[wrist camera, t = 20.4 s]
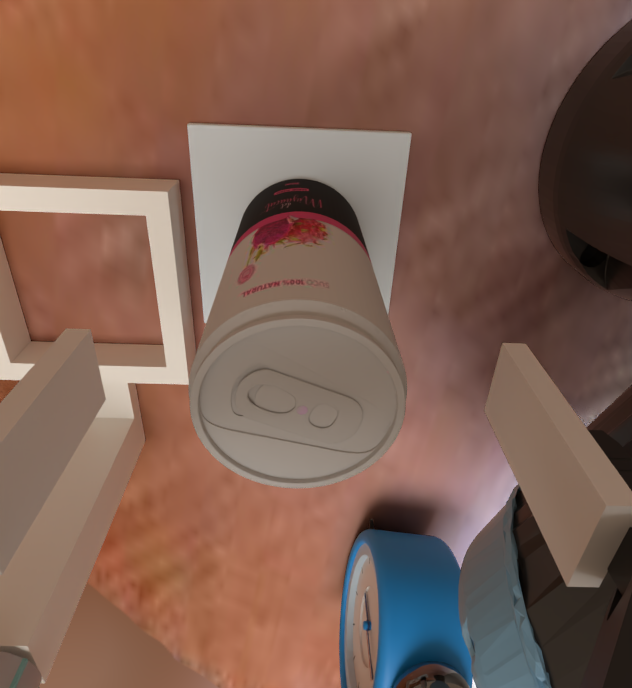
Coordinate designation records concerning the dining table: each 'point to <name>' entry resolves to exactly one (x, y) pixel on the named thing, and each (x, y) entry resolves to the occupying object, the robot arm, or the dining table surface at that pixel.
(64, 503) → the grey frame with post
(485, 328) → the dining table surface
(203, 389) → the beverage can
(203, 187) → the mat
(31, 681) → the bar
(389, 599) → the alarm clock
